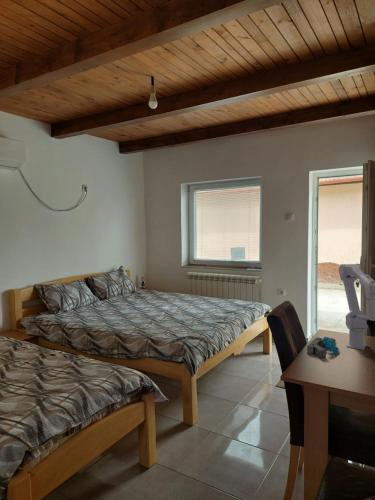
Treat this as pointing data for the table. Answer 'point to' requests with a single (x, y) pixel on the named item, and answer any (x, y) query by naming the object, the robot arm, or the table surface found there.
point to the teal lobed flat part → (330, 345)
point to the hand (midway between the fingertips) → (372, 336)
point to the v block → (318, 347)
